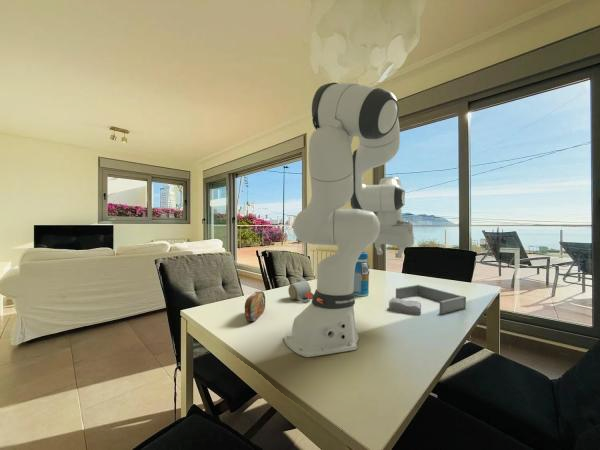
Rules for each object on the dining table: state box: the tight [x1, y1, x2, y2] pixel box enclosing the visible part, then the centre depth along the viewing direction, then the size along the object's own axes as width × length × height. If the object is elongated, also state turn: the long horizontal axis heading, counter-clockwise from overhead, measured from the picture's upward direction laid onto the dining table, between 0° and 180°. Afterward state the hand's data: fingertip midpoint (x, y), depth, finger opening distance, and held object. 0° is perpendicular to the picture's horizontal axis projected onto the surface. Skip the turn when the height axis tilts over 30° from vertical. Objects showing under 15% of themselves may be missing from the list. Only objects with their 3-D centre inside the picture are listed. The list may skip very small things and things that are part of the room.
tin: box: [244, 291, 266, 322], centre depth 97 cm, size 15×3×8 cm, turn 168°
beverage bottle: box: [353, 251, 370, 297], centre depth 127 cm, size 8×8×20 cm
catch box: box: [395, 284, 467, 315], centre depth 114 cm, size 15×22×4 cm
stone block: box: [388, 297, 422, 315], centre depth 106 cm, size 12×5×10 cm
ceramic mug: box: [288, 280, 312, 304], centre depth 117 cm, size 11×8×8 cm
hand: (388, 256), depth 102 cm, fingers open, 8 cm apart
